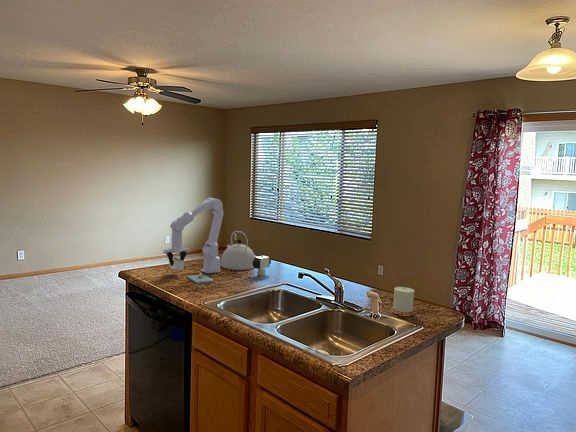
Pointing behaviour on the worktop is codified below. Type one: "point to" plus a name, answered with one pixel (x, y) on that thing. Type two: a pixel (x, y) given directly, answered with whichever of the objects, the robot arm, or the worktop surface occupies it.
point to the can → (403, 299)
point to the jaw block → (177, 263)
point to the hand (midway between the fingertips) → (176, 265)
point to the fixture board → (200, 279)
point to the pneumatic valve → (261, 264)
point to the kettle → (238, 256)
